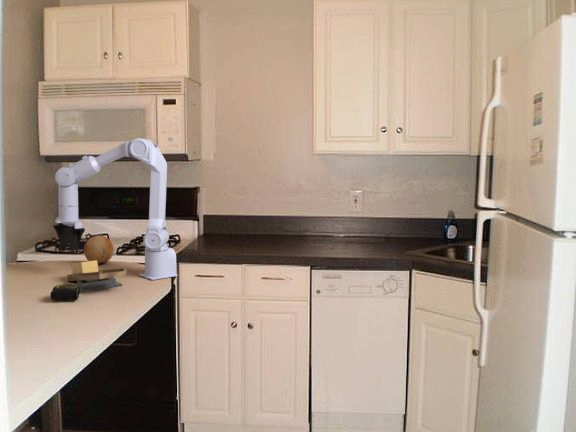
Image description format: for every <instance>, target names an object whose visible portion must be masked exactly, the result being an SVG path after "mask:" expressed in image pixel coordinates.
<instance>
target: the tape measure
mask: <svg viewBox="0 0 576 432" xmlns="http://www.w3.org/2000/svg"><path fill="white" fill-rule="evenodd" d="M76 284H77V283H63V284H57V285H55V286H54V287H52V290H51V292H50V299H51V300H52V301H60V302H68V301H77V300H78V298H79V297H80V294H81V292H80V288H79V286H78V285H76Z"/></svg>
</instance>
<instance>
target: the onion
mask: <svg viewBox="0 0 576 432" xmlns="http://www.w3.org/2000/svg"><path fill="white" fill-rule="evenodd" d="M112 243H113V242H111V240H110V238H108V237H106V236H104V235H94V236H92V237H90V238H88V240H87V241H86V242H85V244H84V247H83V255H84V256H85V258H86V260H87V262H88V261H96V260H97V263H98V265H101V264H104V263H108V261H109V262H110V260H111V259H112V257H113V255H114V254H113V253H114V245H113V244H112Z"/></svg>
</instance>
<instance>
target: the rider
mask: <svg viewBox="0 0 576 432" xmlns="http://www.w3.org/2000/svg"><path fill="white" fill-rule="evenodd" d="M98 271H99V264H98V263H97V260H96V261H88V260H87V261H80V262H74V263H71V272H72V273H71V274H79V273H90V272H98Z"/></svg>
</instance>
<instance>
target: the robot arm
mask: <svg viewBox="0 0 576 432" xmlns="http://www.w3.org/2000/svg"><path fill="white" fill-rule="evenodd" d="M124 157H129V158H130V157H132V158H134V159H135V160H136V159H137V160H138V161H140V162H142V163H143V164H144V165H145V166H146V167H147V168H149V170H150V180H149V181H150V182H149V183H150V184H149V204H148V206H149V210H148V211H149V212H148V222H147V224H146V225H147V226H146V231H145V234H144V236H143V238H142V241H143V245H144V246H145V247H144V273H139V277H140V276H141V277H143V278H146V279H148V280H150V281H155V280H156V281H157V280H162V279H167V278H173V277H178V274H177V253H176V251H175V249H174V248H173V247H169V246H168V245H167V243H168V241H169V240H170V239H169V238H170V234H169V231H168V229H167V221H166V206H167V205H166V203H167V182H168V181H167V178H168V177H167V176H168V163H167V161H166V158H165V157H164V155H163V154H162V152H161V149H160V148H159V145H158V144H157V143H155V142H154V141H153V140H151V139H149V138H141V137H140V138H139V137H137V138H133V139H132V140H129V141H126V142H123V143H121V144H119V145H117V146H115V147H113V148H111V149H109V150H108V151H105V152H104V153H102V154H100V155H98V156H96V157H95V156H92V155H89V156H87V155H84V156H82V157H81V159H80V160H78V161H77V162H75V163H69V164H68V167H60V168H59V169H58V170H57V171H56V173H55V176H54V179H55V182H56V183H57V185H58V190H57V191H58V192H57V193H58V216H57V217H56V219H55V220H54V222H55V224H54V225H53V226H52V227H53V229H54V230H55V232H56V235H57V238H58V242H59V245H60V247H61V248H64V247H68V246H69V249H70V251H79V247H80V243H81V239H82V236H83V234H84V233H85V231H86V228H84V227H83V223H82V221H80V219H79V190H78V189H79V186H78V184H79V183H80V182H81V181H84V180H86V179H88V178H90V177H92V176H94V175H96V174H98V173H100V171H101V168H102V167H103V166H105V165H108V164H110V163H112V162H114V161H117V160H119V159H121V158H124Z"/></svg>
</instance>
